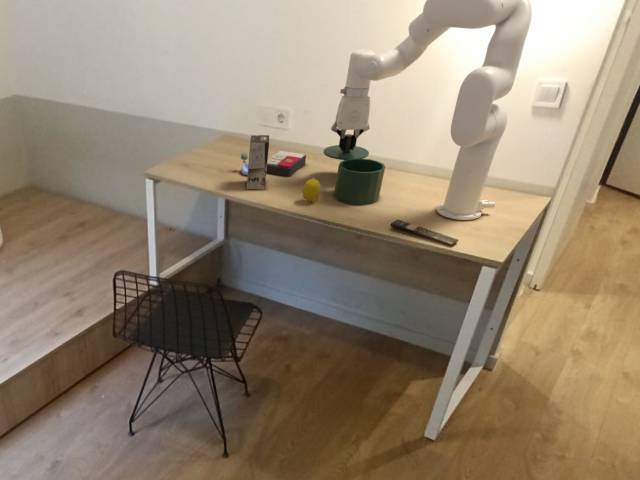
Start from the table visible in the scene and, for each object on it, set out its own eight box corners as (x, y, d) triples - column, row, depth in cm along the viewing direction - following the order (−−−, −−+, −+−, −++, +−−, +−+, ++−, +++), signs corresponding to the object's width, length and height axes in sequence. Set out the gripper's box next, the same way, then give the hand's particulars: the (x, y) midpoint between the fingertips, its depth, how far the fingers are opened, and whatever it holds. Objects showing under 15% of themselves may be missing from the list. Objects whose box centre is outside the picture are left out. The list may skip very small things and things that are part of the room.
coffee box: (264, 190, 215) (269, 142, 206) (246, 189, 217) (249, 142, 207) (265, 180, 222) (269, 134, 213) (247, 180, 224) (251, 134, 214)
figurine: (238, 170, 233) (239, 152, 229) (255, 168, 233) (257, 150, 229) (243, 177, 227) (245, 158, 222) (261, 175, 227) (263, 157, 223)
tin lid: (362, 147, 221) (366, 128, 217) (373, 161, 210) (377, 141, 205) (319, 148, 223) (322, 129, 219) (327, 162, 211) (330, 142, 207)
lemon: (321, 201, 205) (325, 177, 200) (312, 206, 202) (316, 182, 197) (306, 197, 208) (309, 174, 203) (298, 202, 205) (301, 179, 200)
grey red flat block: (262, 162, 228) (279, 149, 237) (261, 173, 230) (278, 160, 239) (290, 166, 222) (306, 153, 231) (289, 178, 225) (305, 164, 234)
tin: (372, 188, 212) (378, 157, 205) (383, 204, 201) (390, 172, 194) (330, 189, 213) (335, 159, 207) (338, 205, 202) (344, 173, 195)
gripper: (333, 95, 201) (324, 153, 213) (384, 94, 200) (372, 152, 211) (329, 90, 207) (320, 146, 218) (378, 89, 206) (367, 145, 217)
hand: (346, 148), depth 215 cm, fingers closed on tin lid, 2 cm apart
